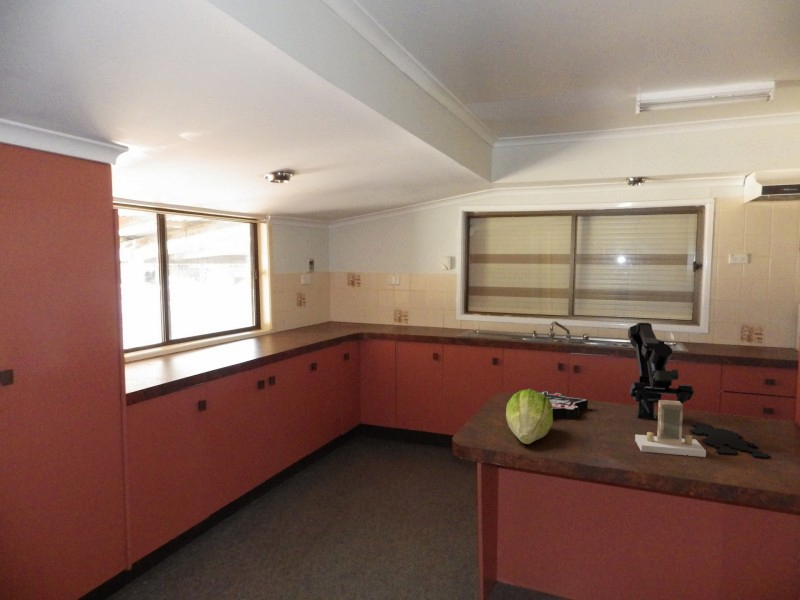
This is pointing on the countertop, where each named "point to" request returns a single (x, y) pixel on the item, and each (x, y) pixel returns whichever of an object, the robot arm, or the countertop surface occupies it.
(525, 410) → the lettuce
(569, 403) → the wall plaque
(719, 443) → the ragged black cutout
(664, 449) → the white peg rack
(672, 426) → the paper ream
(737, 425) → the countertop surface
